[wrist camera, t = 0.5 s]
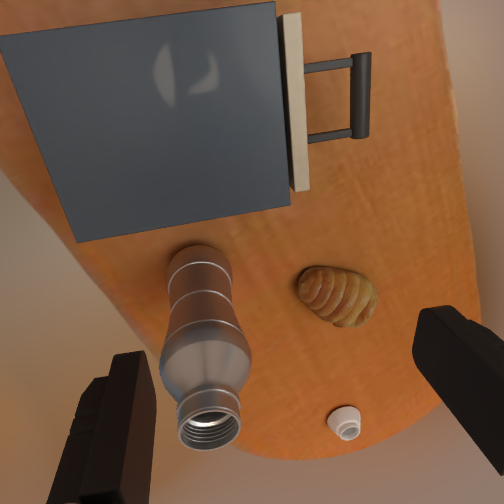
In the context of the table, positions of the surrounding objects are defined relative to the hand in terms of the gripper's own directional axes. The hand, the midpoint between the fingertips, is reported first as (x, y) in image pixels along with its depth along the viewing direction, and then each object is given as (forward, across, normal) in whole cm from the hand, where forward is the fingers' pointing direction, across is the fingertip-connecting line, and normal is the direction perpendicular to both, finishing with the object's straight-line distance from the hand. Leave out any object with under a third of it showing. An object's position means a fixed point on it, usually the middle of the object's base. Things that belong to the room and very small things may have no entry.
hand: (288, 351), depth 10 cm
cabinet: (+26, +4, -4) cm, 27 cm away
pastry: (+26, -12, +17) cm, 34 cm away
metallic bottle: (+26, +3, +11) cm, 29 cm away
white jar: (+26, -15, +40) cm, 50 cm away
